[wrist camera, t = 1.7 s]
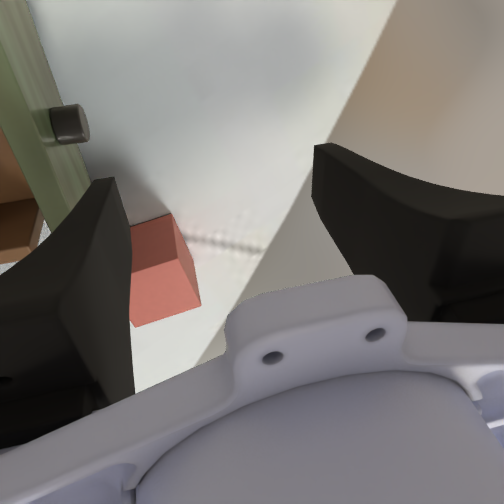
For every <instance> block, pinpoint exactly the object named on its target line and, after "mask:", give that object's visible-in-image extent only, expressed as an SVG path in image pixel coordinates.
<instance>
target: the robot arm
mask: <svg viewBox="0 0 504 504" xmlns="http://www.w3.org/2000/svg"><path fill="white" fill-rule="evenodd" d="M312 177H313V178H312V195H311V197H312V199H313V202H314V204H315V207H316V209H317V212H318V214H319V216H320V219H321V220H322V222H323V224H324V225H325V227H326V229H327V230H328V232H329V234H330V236H331V237H332V239H333V240H334V242H335V244H336V245H337V247H338V249H339V250H340V252H341V253H342V255H343V257H344V258H345V260H346V261H347V263H348V265H349V267H350V269H351V270H352V272H353V274H354V275H349V276H344V277H339V278H334V279H329V280H324V281H319V282H314V283H310V284H305V285H300V286H295V287H290V288H286V289H281V290H275V291H271V292H266V293H262V294H259V295H256V296H254V297H251V298H249V299H246V300H244V301H242V302H241V303H240V304H239V305H238V306H237V307H236V308H235V309H234V310H233V311H232V312H231V313H230V314H228V316H227V320H226V324H225V328H224V333H225V338H226V351H225V353H224V354H223V355H220V356H218V357H216V358H214V359H211V360H209V361H207V362H205V363H203V364H201V365H198V366H196V367H194V368H192V369H189V370H187V371H185V372H183V373H181V374H178V375H176V376H174V377H172V378H170V379H167V380H165V381H163V382H161V383H158V384H156V385H154V386H152V387H150V388H147V389H145V390H143V391H141V392H139V393H136V394H135V386H134V376H133V364H132V351H131V337H130V321H129V305H130V289H131V272H132V242H131V231H130V226H129V223H128V219H127V216H126V213H125V210H124V207H123V204H122V200H121V197H120V194H119V191H118V188H117V184H116V181H115V178H114V177H110V178H103V179H97V180H94V181H93V182H92V184H91V185H90V186H89V188H88V189H87V190H86V192H85V193H84V195H83V196H82V197H81V199H80V200H79V201H78V203H77V204H76V205H75V207H74V208H73V209H72V211H71V212H70V213H69V214H68V215H67V217H66V218H65V219H64V220H63V221H62V222H61V223H60V224H59V226H58V227H57V228H56V229H55V230H54V231H53V232H52V233H51V234H50V235H49V236H48V237H47V238H46V239H45V240H44V241H43V242H42V243H41V244H40V245H39V246H38V247H37V248H35V249H34V250H33V251H32V252H31V253H30V254H28V255H27V256H26V257H24V258H23V259H22V260H20V261H19V262H18V263H16V264H15V265H14V266H12V267H11V268H10V269H8V270H7V271H6V272H4V273H3V274H1V275H0V504H504V196H501V195H490V194H484V193H476V192H470V191H464V190H459V189H454V188H449V187H445V186H440V185H436V184H432V183H429V182H425V181H422V180H419V179H416V178H413V177H409V176H407V175H404V174H401V173H399V172H396V171H394V170H391V169H389V168H386V167H384V166H382V165H379V164H377V163H375V162H373V161H371V160H368V159H367V158H364V157H362V156H360V155H358V154H356V153H354V152H352V151H350V150H348V149H346V148H344V147H341V146H339V145H337V144H334V143H326V144H320V145H314V158H313V176H312Z"/></svg>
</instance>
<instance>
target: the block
mask: <svg viewBox="0 0 504 504" xmlns="http://www.w3.org/2000/svg"><path fill="white" fill-rule="evenodd" d="M130 231H131V242H132V272H131V289H130V305H129V319H130V321H131V322H132V324H133V325H134V327H135V328H136V327H139V326H142V325H145V324H148V323H151V322H154V321H157V320H160V319H163V318H166V317H169V316H173V315H176V314H179V313H182V312H185V311H188V310H191V309H194V308H197V307H200V306H201V300H200V295H199V289H198V284H197V278H196V273H195V267H194V261H193V259H192V257H191V254H190V252H189V250H188V248H187V246H186V243H185V241H184V239H183V237H182V235H181V232H180V230H179V228H178V226H177V224H176V222H175V219H174V217H173V215H172V214H169V215H166V216H163V217H160V218H157V219H154V220H150V221H147V222H144V223H141V224H138V225H135V226H132V227H130Z"/></svg>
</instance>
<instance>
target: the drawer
mask: <svg viewBox="0 0 504 504" xmlns="http://www.w3.org/2000/svg"><path fill="white" fill-rule="evenodd" d="M89 140H90V132H89V126H88V122H87V118H86V115H85V113H84V110H83V108H82V107H81V105H79V104H74V105H66V106H63V103H62V100H61V97H60V95H59V92H58V89H57V86H56V84H55V81H54V78H53V75H52V72H51V70H50V67H49V64H48V61H47V59H46V56H45V53H44V50H43V47H42V45H41V42H40V39H39V36H38V33H37V31H36V28H35V25H34V22H33V20H32V17H31V14H30V11H29V8H28V6H27V3H26V0H0V264H5V263H10V262H16V261H20V260H22V259H23V258H24V257H26V256H27V255H28V254H30V253H31V252H32V251H33V250H34V249H35V248H37V246H38V242H39V238H40V234H41V230H42V226H43V222H44V219H45V221H46V223H47V225H48V227H49V229H50V231H51V233H52V232H53V231H54V230H55V229H56V228H57V227H58V226H59V224H60V223H61V222H62V221H63V220H64V219H65V218H66V217H67V215H68V214H69V213H70V212H71V211H72V209H73V208H74V207H75V205H76V204H77V203H78V201H79V200H80V199H81V197H82V196H83V195H84V193H85V192H86V190H87V189H88V188H89V186H90V185H91V181H90V178H89V175H88V173H87V170H86V167H85V164H84V161H83V159H82V156H81V153H80V150H79V147H78V145H77V143H83V142H88V141H89Z"/></svg>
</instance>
